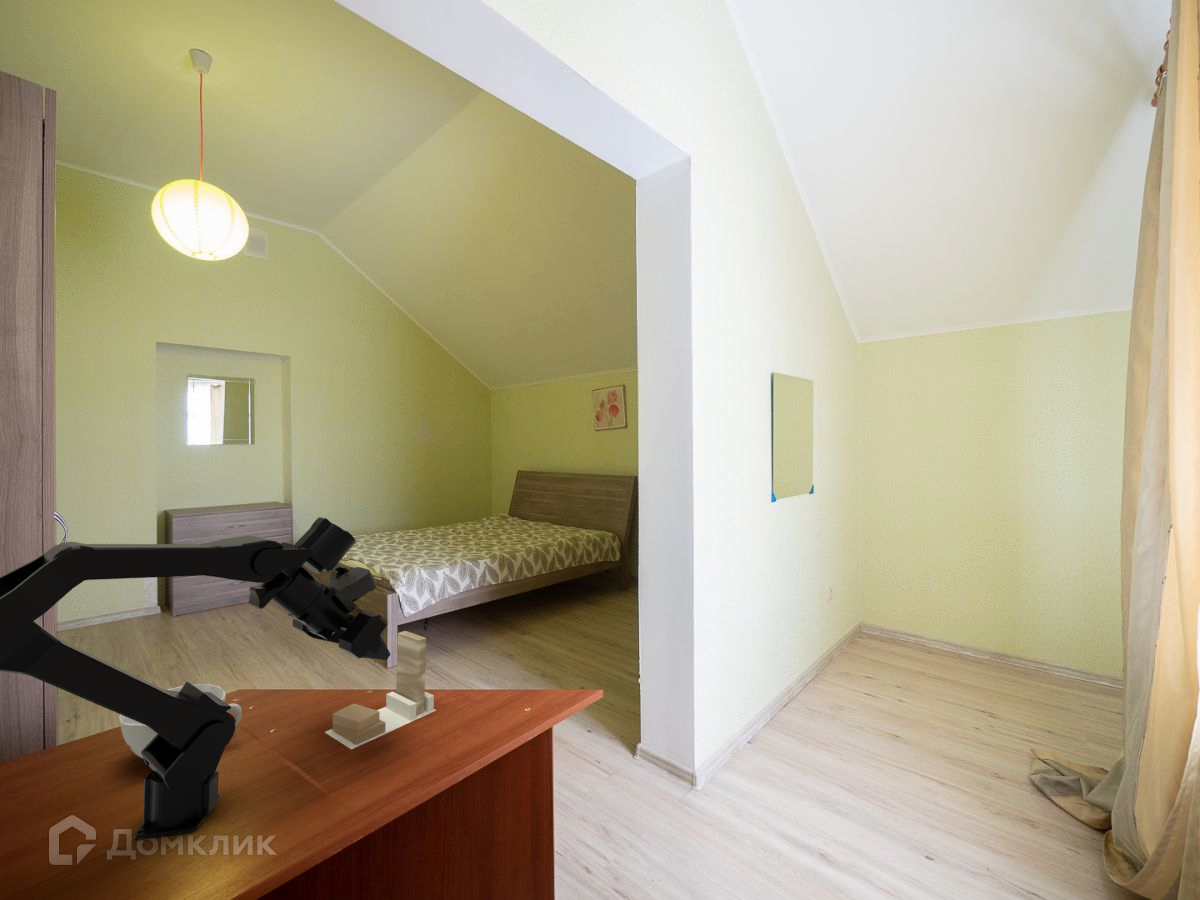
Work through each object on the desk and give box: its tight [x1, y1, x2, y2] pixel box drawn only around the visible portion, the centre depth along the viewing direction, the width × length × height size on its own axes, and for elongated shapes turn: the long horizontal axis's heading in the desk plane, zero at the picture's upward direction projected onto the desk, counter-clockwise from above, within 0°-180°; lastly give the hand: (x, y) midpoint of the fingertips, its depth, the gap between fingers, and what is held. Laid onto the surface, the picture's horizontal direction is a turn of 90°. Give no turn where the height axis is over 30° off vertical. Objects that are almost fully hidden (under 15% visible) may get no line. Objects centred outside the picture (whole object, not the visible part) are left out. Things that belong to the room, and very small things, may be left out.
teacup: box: [118, 683, 243, 759], centre depth 80 cm, size 15×12×8 cm
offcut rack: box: [324, 691, 437, 750], centre depth 89 cm, size 16×8×4 cm, turn 145°
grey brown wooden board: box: [395, 630, 427, 716], centre depth 93 cm, size 2×6×13 cm, turn 54°
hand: (371, 650), depth 87 cm, fingers open, 9 cm apart
